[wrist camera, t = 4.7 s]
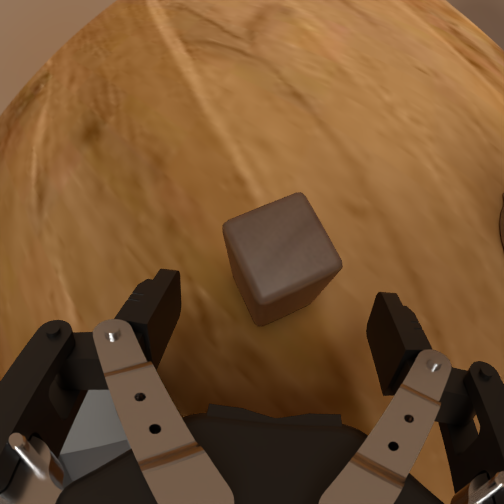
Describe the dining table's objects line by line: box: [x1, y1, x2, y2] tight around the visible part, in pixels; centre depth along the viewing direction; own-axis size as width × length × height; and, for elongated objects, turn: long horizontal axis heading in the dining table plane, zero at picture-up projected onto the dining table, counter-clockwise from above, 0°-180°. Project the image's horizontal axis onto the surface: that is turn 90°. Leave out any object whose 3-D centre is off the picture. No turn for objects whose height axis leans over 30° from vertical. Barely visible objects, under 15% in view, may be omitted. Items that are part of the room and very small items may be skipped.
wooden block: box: [223, 192, 342, 326], centre depth 17 cm, size 4×4×8 cm
